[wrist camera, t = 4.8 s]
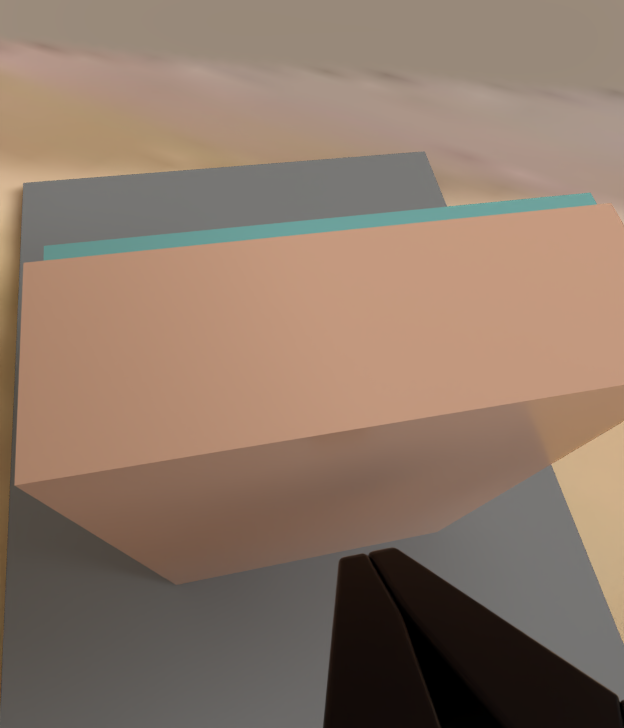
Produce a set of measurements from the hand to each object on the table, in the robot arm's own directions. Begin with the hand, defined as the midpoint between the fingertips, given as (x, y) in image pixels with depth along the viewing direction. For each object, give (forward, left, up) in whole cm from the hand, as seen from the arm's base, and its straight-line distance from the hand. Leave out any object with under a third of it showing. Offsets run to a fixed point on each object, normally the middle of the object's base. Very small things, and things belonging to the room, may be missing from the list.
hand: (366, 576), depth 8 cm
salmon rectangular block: (+2, +2, -7) cm, 7 cm away
